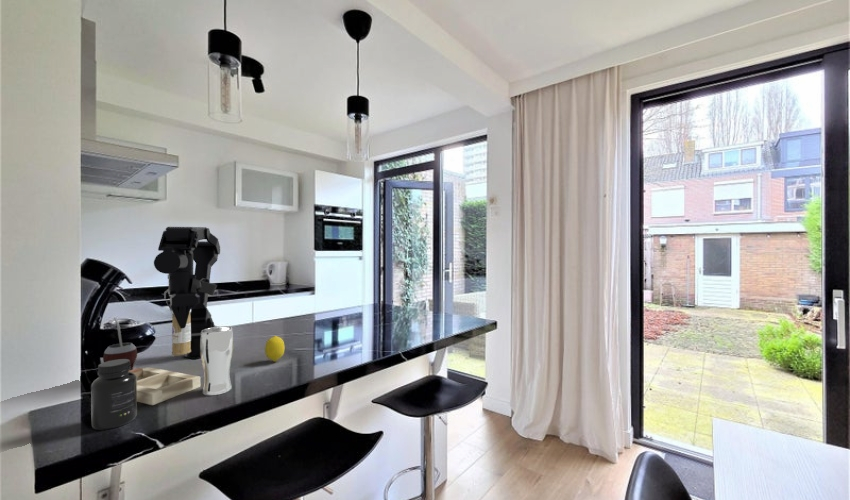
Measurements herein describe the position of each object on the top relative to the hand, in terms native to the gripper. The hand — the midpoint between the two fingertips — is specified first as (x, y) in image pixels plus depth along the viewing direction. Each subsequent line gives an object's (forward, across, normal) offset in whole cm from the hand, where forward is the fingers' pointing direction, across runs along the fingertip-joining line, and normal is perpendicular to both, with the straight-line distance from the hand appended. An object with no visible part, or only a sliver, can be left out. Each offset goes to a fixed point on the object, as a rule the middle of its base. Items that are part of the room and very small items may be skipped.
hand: (181, 326), depth 98 cm
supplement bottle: (+13, -25, +14) cm, 32 cm away
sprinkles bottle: (+8, 0, 0) cm, 8 cm away
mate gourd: (+13, +10, +13) cm, 21 cm away
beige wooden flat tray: (+13, -9, +8) cm, 17 cm away
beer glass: (+13, -21, -5) cm, 25 cm away
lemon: (+13, -9, -22) cm, 27 cm away
